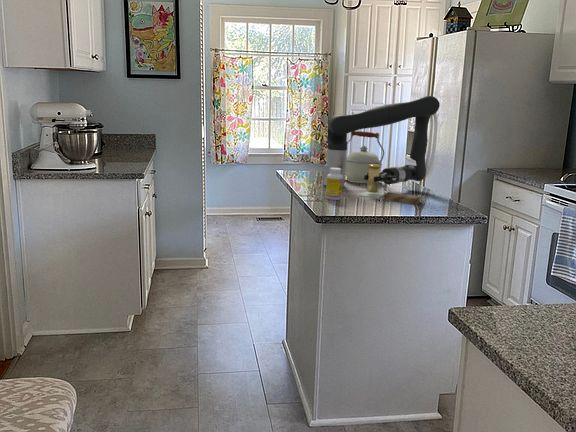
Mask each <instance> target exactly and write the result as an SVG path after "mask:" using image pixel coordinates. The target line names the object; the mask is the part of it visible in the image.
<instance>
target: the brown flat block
mask: <svg viewBox="0 0 576 432" xmlns="http://www.w3.org/2000/svg"><path fill="white" fill-rule="evenodd" d="M384 194H385V195H384V196H383V199H382V201H385V202H391V203H399V204H406V205H414V206H418V205H419V204H420V203H421V195H412V194H405V193H397V192H389V191H388V192H386V193H384Z"/></svg>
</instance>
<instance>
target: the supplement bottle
mask: <svg viewBox="0 0 576 432" xmlns="http://www.w3.org/2000/svg"><path fill="white" fill-rule="evenodd" d="M340 172H341V169H340V168H330V174H328V175H327V185H325V186H326V187H325V188H326V189H325V199H328V200H331V201H339V200H341V199H342V194H343V193H342V192H343V191H342V190H343V187H342V182H343V176H342V175H341V174H340Z"/></svg>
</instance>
